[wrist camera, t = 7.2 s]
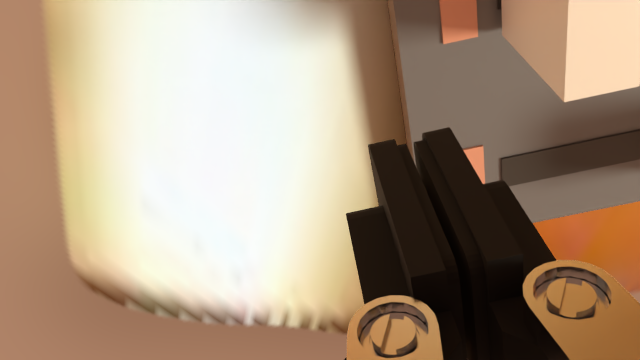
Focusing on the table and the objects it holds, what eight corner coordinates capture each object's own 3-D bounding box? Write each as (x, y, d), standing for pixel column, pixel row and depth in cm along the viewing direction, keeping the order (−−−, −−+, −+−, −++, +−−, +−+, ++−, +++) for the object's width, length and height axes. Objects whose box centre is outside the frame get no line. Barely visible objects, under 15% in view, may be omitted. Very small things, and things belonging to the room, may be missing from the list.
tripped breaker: (499, -57, 18) (569, -8, 14) (564, -71, 18) (653, -27, 14) (502, 35, 20) (564, 102, 16) (561, 22, 20) (639, 86, 16)
